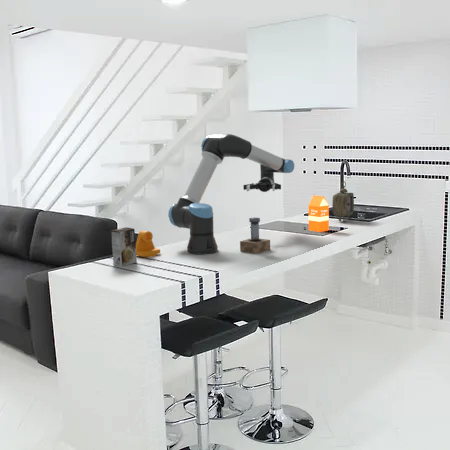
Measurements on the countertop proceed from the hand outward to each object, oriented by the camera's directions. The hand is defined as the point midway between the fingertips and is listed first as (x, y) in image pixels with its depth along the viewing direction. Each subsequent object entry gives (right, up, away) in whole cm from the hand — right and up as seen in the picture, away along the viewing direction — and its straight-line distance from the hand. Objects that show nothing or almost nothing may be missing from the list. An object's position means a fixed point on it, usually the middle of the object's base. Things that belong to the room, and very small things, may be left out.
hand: (260, 188), depth 305 cm
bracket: (-56, -34, -21) cm, 69 cm away
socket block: (-4, -32, -18) cm, 37 cm away
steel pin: (-4, -32, -18) cm, 37 cm away
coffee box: (-64, -37, -38) cm, 83 cm away
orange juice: (+36, -22, +31) cm, 52 cm away
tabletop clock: (+56, -17, +61) cm, 84 cm away
